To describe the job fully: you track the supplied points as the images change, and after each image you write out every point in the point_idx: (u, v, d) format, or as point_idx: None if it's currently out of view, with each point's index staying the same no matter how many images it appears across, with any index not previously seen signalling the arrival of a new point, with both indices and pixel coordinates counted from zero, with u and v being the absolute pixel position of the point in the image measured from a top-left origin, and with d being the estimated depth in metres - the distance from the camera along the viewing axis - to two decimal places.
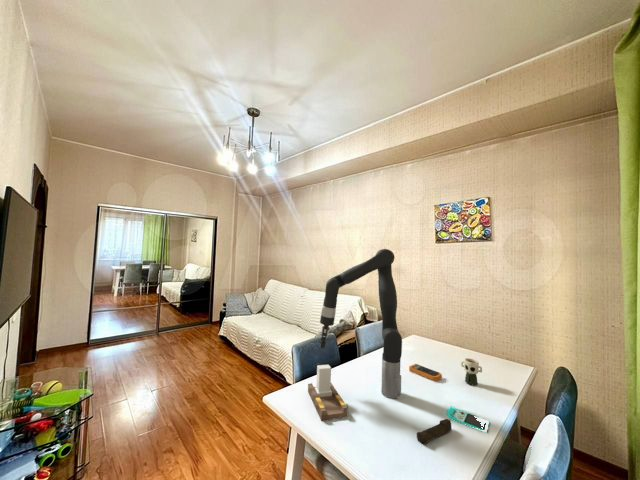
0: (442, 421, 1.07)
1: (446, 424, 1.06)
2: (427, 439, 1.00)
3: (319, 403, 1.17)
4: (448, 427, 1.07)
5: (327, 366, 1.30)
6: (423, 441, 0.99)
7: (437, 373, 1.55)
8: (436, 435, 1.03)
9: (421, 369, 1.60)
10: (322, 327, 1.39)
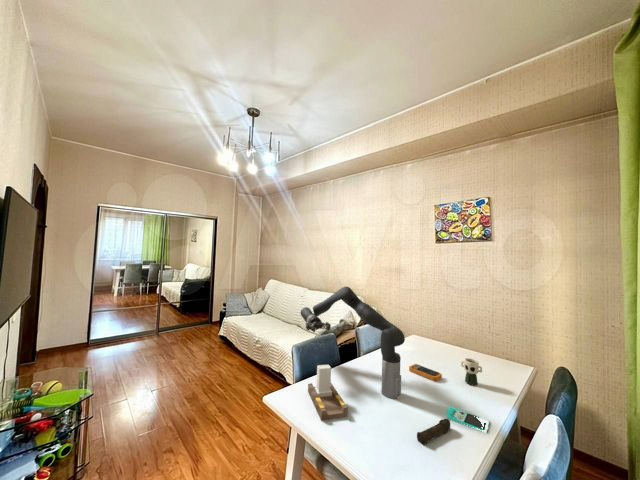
0: (441, 421, 1.08)
1: (445, 424, 1.06)
2: (427, 439, 1.00)
3: (319, 403, 1.17)
4: (447, 427, 1.07)
5: (327, 366, 1.30)
6: (423, 441, 0.99)
7: (437, 373, 1.55)
8: (436, 435, 1.03)
9: (421, 369, 1.60)
10: (314, 328, 1.56)
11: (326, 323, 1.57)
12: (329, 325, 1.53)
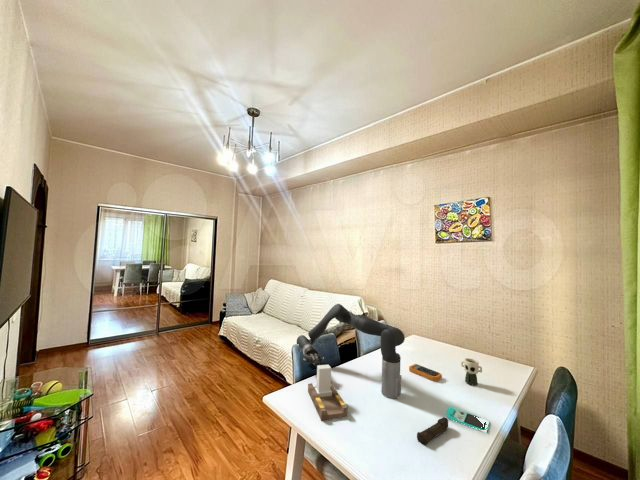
0: (440, 420, 1.08)
1: (444, 423, 1.07)
2: (427, 439, 1.00)
3: (319, 403, 1.17)
4: (446, 425, 1.08)
5: (327, 366, 1.30)
6: (424, 441, 0.99)
7: (437, 373, 1.55)
8: (435, 434, 1.03)
9: (421, 369, 1.60)
10: None
11: (321, 356, 1.50)
12: (319, 359, 1.46)
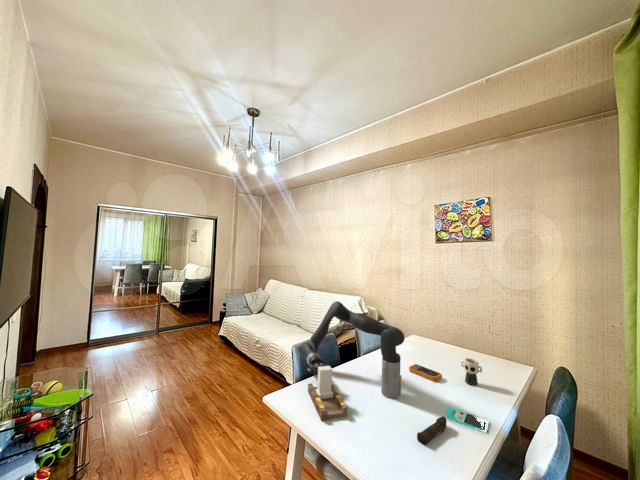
0: (439, 419, 1.09)
1: (443, 422, 1.08)
2: (428, 439, 1.00)
3: (319, 403, 1.17)
4: (444, 425, 1.08)
5: (328, 367, 1.29)
6: (424, 441, 0.99)
7: (437, 373, 1.55)
8: (435, 434, 1.03)
9: (421, 369, 1.60)
10: None
11: None
12: None
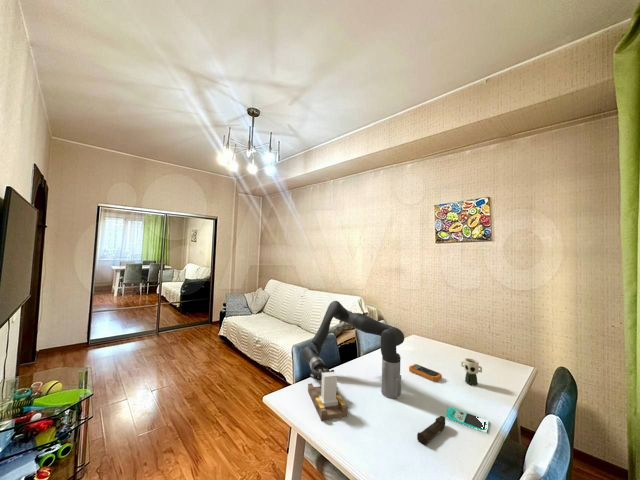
0: (438, 419, 1.09)
1: (442, 421, 1.08)
2: (428, 439, 1.00)
3: (319, 403, 1.17)
4: (443, 424, 1.09)
5: (332, 373, 1.22)
6: (424, 441, 0.99)
7: (437, 373, 1.55)
8: (434, 434, 1.03)
9: (421, 369, 1.60)
10: None
11: (331, 371, 1.33)
12: None
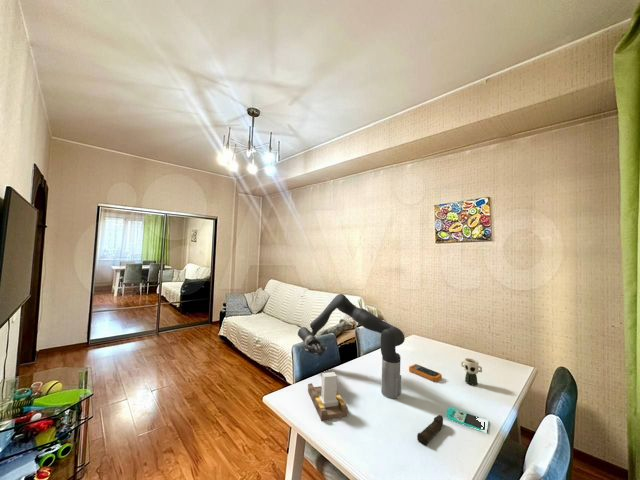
0: (436, 418, 1.09)
1: (440, 420, 1.08)
2: (428, 439, 1.00)
3: (319, 403, 1.17)
4: (441, 423, 1.09)
5: (333, 374, 1.22)
6: (425, 442, 0.99)
7: (437, 373, 1.55)
8: (434, 433, 1.04)
9: (421, 369, 1.60)
10: None
11: (323, 346, 1.46)
12: (321, 348, 1.42)
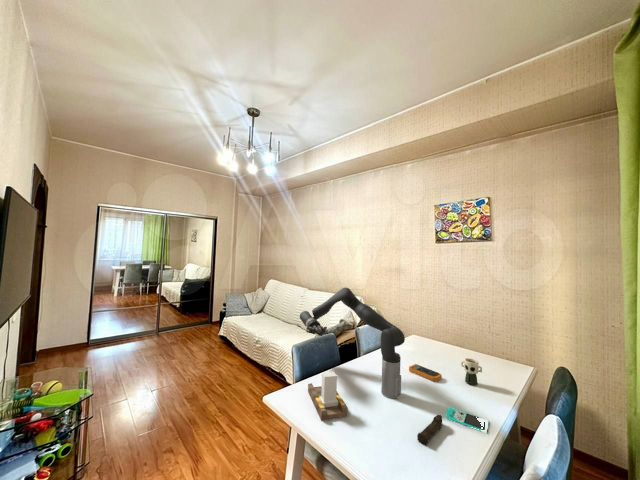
0: (435, 418, 1.10)
1: (440, 420, 1.09)
2: (428, 439, 1.00)
3: (319, 403, 1.17)
4: (441, 423, 1.09)
5: (333, 374, 1.22)
6: (425, 442, 0.99)
7: (437, 373, 1.55)
8: (434, 433, 1.04)
9: (421, 369, 1.60)
10: None
11: (324, 327, 1.53)
12: (322, 329, 1.49)
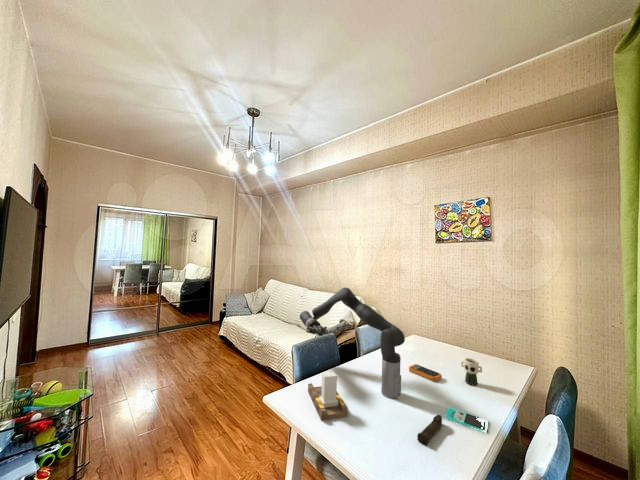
0: (435, 418, 1.10)
1: (439, 420, 1.09)
2: (428, 439, 1.00)
3: (319, 403, 1.17)
4: (441, 422, 1.09)
5: (333, 374, 1.22)
6: (425, 442, 0.99)
7: (437, 373, 1.55)
8: (434, 433, 1.04)
9: (421, 369, 1.59)
10: None
11: (324, 327, 1.53)
12: (322, 329, 1.49)
